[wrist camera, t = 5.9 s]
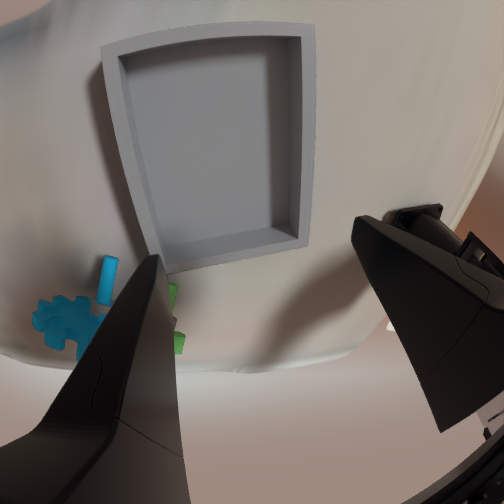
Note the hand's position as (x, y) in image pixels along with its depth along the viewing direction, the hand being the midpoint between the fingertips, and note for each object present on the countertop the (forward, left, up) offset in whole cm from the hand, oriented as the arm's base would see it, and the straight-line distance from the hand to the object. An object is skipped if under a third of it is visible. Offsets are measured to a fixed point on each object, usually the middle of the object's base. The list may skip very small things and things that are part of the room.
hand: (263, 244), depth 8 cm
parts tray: (0, 0, -10) cm, 10 cm away
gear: (+10, +10, -11) cm, 18 cm away
